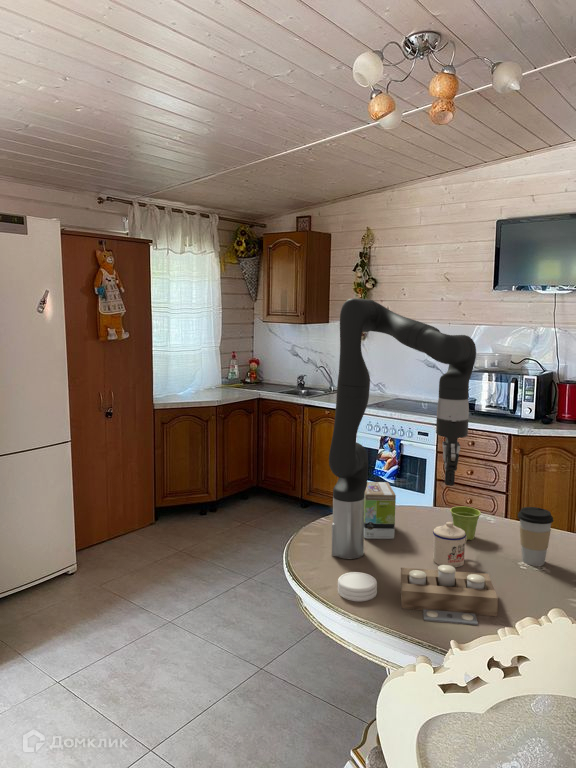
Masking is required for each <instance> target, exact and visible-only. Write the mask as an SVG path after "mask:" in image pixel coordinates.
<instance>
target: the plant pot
mask: <svg viewBox="0 0 576 768" xmlns="http://www.w3.org/2000/svg"><path fill="white" fill-rule="evenodd" d="M449 511H450V513H451V517H452V523H453V525H454V526H456V527H458V528H460V529H462V530H464V531H465V534H466V537H467V541H468V540H470V541H472V540H474V539H475V535H476V532H477V531H476V530H477V524H478V520H479V519H480V516H481V515H482V513H481V511H480V510H479V509H477V508H474V507H471V506H462V505H461V506H460V505H459V506H453V507H451V508H450V509H449Z"/></svg>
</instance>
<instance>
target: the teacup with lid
mask: <svg viewBox="0 0 576 768" xmlns="http://www.w3.org/2000/svg"><path fill="white" fill-rule="evenodd" d="M432 534H433V546H432V547H433V550H432V551H433V552H432V553H433V554H432V556H433V557H432V560H433V563H435V564H437V565H438V566H440V565H450V566H453V567H454V568H455V569H456V568H458V567H459V568H460V567H462V566H463V565H464V564H465V551H466V550H465V549H466V548H465V547H466V544H467V541H468V540H467V537H466V534H465V531H464V530H462V529H460V528H458V527H456V526H454V525H453V521H447V522H445V524H442V525H438V526H436V527H434V529H433V531H432Z"/></svg>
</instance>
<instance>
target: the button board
mask: <svg viewBox="0 0 576 768" xmlns="http://www.w3.org/2000/svg"><path fill="white" fill-rule="evenodd" d="M412 570H420V571H423V572H425V573H426V585H420V584H409V577H410V575H409V572H410V571H412ZM470 574H477V575H481V576H483V577H484V578H485V581H484V589H472V588H467V576H468V575H470ZM399 581H400V585H399V586H400V600H401V601H400V602H401V603H400V604H401V609H403V610H404V609H405V610H417V611H423V609H426V610H438V611H450V612H461V613H473V614H475V615H476V616H487V617H498V607H499V605H498V601H499V600H498V599H499V598H498V595H497V593H496V591H495V587H494V586H493V585H494V584H493V583H492V580H491V578H490V574H489V573H481V572H470V571H469V572H466V571H455V586H454V587H446V586H440V585H439V584H438V569H425V568H413V567H400V580H399Z"/></svg>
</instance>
